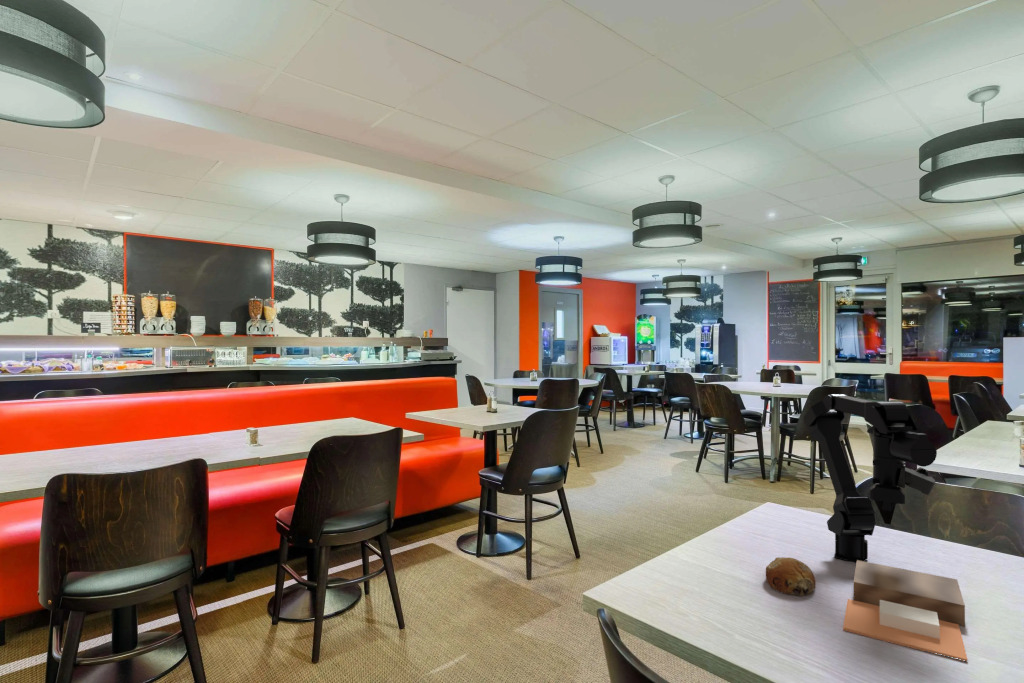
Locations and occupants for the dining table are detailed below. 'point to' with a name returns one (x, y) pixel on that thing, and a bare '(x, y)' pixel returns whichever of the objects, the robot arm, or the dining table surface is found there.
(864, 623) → the mat
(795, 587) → the bread roll
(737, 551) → the dining table surface
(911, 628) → the white rectangular block
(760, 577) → the dining table surface
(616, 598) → the dining table surface
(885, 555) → the dining table surface
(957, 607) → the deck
